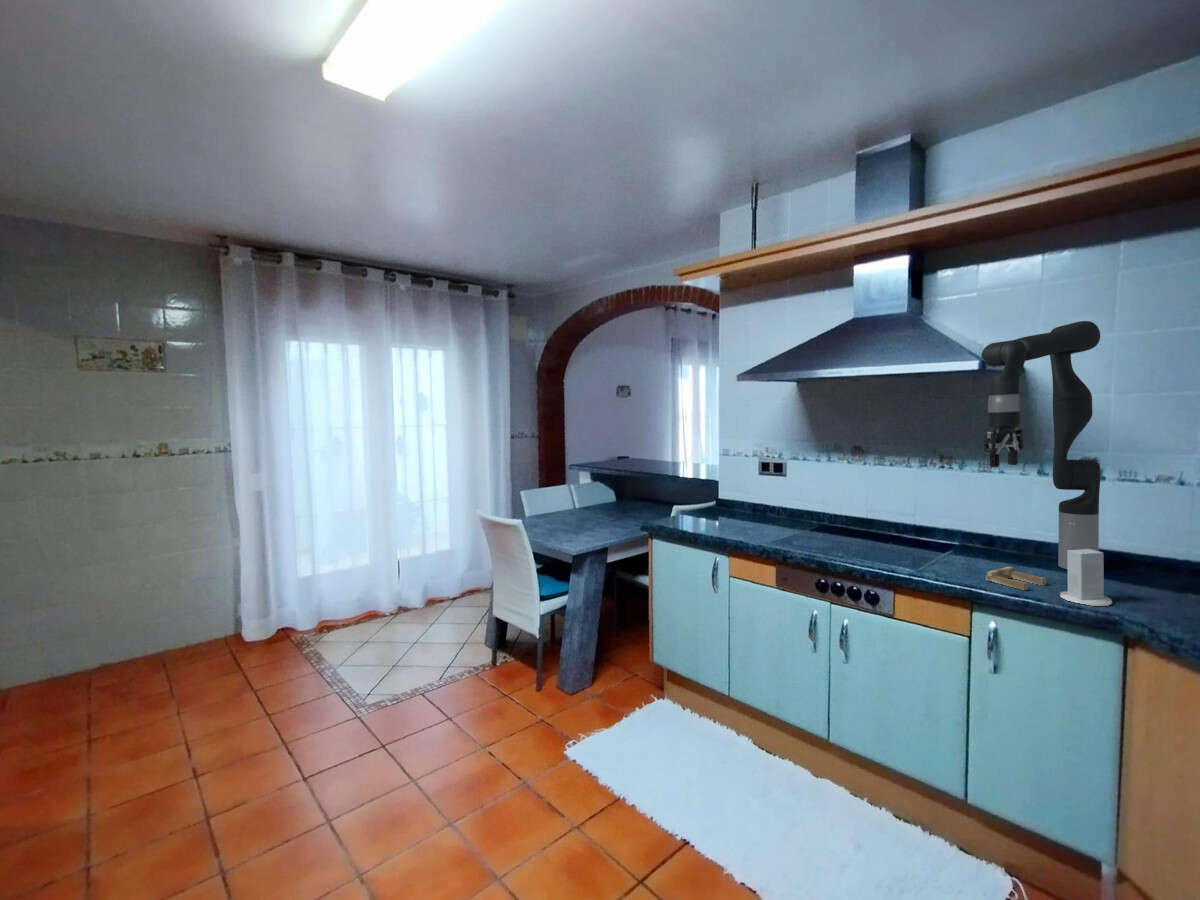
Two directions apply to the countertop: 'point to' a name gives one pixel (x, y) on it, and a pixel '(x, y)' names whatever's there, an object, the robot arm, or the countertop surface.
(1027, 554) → the countertop surface
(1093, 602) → the coaster
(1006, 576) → the rack
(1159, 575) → the countertop surface
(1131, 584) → the countertop surface
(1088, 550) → the skincare box
